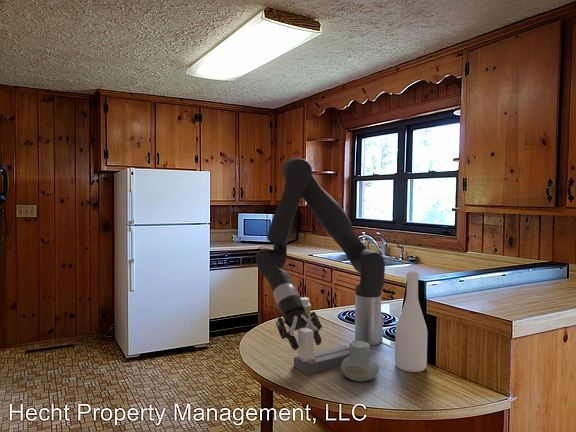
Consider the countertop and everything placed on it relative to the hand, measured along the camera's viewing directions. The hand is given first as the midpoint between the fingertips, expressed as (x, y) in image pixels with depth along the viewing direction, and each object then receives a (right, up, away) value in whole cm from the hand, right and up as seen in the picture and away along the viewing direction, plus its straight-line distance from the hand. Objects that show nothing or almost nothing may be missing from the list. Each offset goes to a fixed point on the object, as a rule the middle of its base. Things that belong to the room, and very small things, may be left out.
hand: (308, 346), depth 132 cm
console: (+6, -7, +6) cm, 11 cm away
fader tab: (-1, -4, +1) cm, 5 cm away
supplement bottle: (+1, -5, +50) cm, 50 cm away
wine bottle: (+32, -8, +4) cm, 33 cm away
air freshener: (+15, -8, -4) cm, 17 cm away
